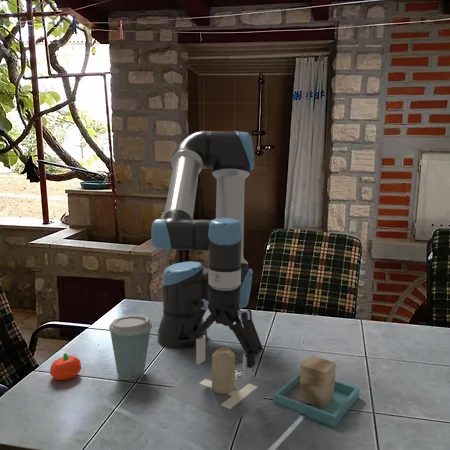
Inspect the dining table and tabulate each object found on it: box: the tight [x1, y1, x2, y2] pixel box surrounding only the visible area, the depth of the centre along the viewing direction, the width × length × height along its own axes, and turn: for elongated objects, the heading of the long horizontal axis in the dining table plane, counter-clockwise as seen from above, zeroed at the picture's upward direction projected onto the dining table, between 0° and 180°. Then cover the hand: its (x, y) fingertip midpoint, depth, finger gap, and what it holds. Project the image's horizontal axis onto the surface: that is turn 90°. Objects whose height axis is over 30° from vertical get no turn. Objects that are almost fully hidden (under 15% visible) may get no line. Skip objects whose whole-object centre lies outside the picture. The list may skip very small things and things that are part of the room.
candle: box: [211, 346, 236, 394], centre depth 112 cm, size 6×6×10 cm
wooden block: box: [298, 355, 337, 410], centre depth 109 cm, size 6×6×9 cm
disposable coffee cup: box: [108, 314, 153, 381], centre depth 119 cm, size 11×11×15 cm
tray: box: [272, 370, 361, 429], centre depth 109 cm, size 15×15×2 cm
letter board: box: [163, 363, 280, 424], centre depth 113 cm, size 20×20×1 cm
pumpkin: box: [49, 352, 82, 381], centre depth 118 cm, size 7×8×6 cm
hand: (223, 370), depth 112 cm, fingers open, 13 cm apart
